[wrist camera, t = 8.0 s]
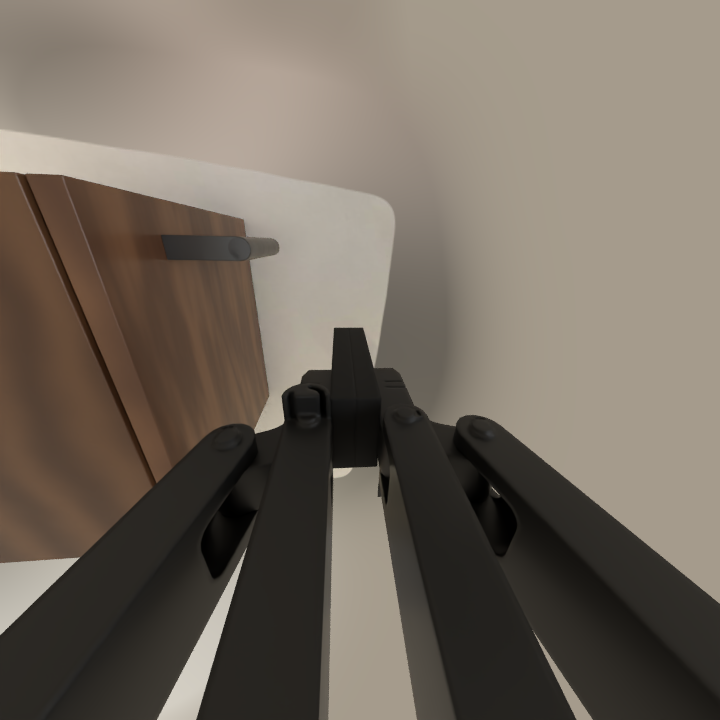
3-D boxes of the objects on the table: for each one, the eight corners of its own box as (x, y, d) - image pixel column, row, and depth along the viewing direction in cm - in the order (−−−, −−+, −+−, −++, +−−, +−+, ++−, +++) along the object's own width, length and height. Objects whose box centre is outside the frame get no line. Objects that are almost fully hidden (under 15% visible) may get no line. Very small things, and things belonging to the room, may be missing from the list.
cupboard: (230, 219, 33) (14, 172, 11) (258, 395, 44) (179, 550, 22) (77, 214, 32) (-530, 148, 9) (146, 398, 42) (-62, 567, 20)
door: (289, 220, 34) (201, 180, 12) (303, 394, 44) (271, 542, 23) (231, 218, 33) (23, 173, 11) (260, 395, 44) (183, 548, 22)
